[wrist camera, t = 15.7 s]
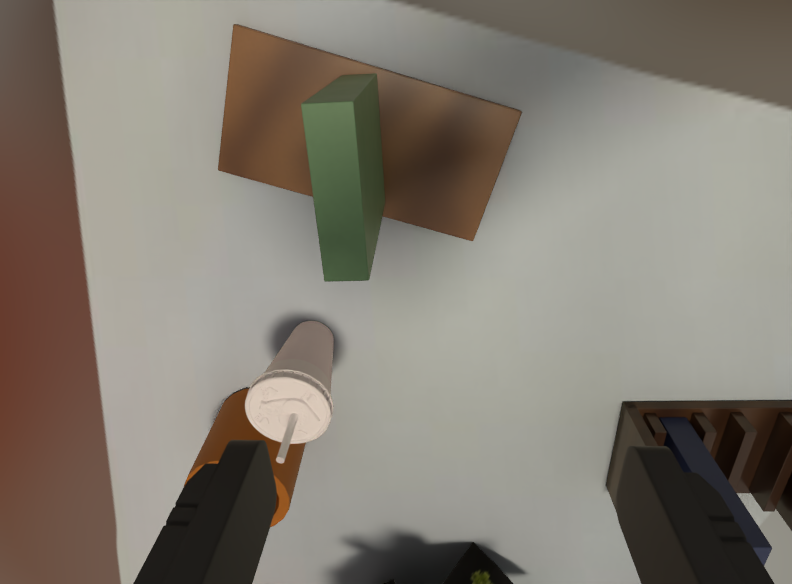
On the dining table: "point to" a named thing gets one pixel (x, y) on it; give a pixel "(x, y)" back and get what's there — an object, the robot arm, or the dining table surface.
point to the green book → (346, 173)
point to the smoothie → (295, 389)
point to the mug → (238, 427)
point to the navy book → (711, 477)
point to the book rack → (721, 443)
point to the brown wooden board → (399, 121)
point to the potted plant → (475, 570)
